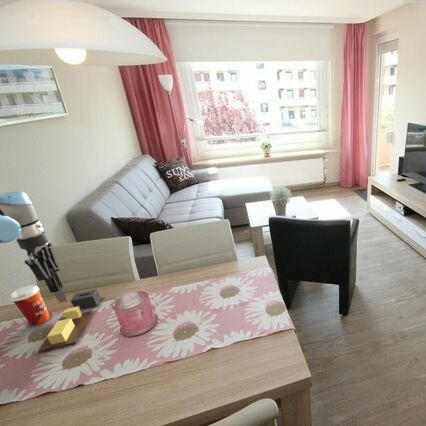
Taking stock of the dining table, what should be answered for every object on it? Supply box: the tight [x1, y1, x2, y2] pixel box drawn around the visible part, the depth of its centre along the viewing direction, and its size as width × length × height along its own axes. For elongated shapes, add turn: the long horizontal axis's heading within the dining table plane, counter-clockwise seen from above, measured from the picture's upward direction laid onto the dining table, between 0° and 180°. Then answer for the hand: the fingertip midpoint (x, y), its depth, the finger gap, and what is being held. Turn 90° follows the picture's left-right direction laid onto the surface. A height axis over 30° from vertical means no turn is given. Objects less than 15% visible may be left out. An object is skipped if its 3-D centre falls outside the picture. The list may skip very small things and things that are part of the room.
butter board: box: [38, 310, 93, 353], centre depth 113 cm, size 11×17×1 cm, turn 18°
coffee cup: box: [10, 284, 51, 327], centre depth 117 cm, size 8×8×15 cm
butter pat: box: [62, 306, 83, 319], centre depth 118 cm, size 4×2×4 cm, turn 108°
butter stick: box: [46, 318, 75, 345], centre depth 110 cm, size 4×8×4 cm, turn 18°
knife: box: [49, 268, 69, 304], centre depth 111 cm, size 3×2×15 cm, turn 108°
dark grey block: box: [70, 288, 102, 311], centre depth 126 cm, size 8×5×6 cm, turn 108°
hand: (57, 289), depth 111 cm, fingers closed on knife, 2 cm apart
